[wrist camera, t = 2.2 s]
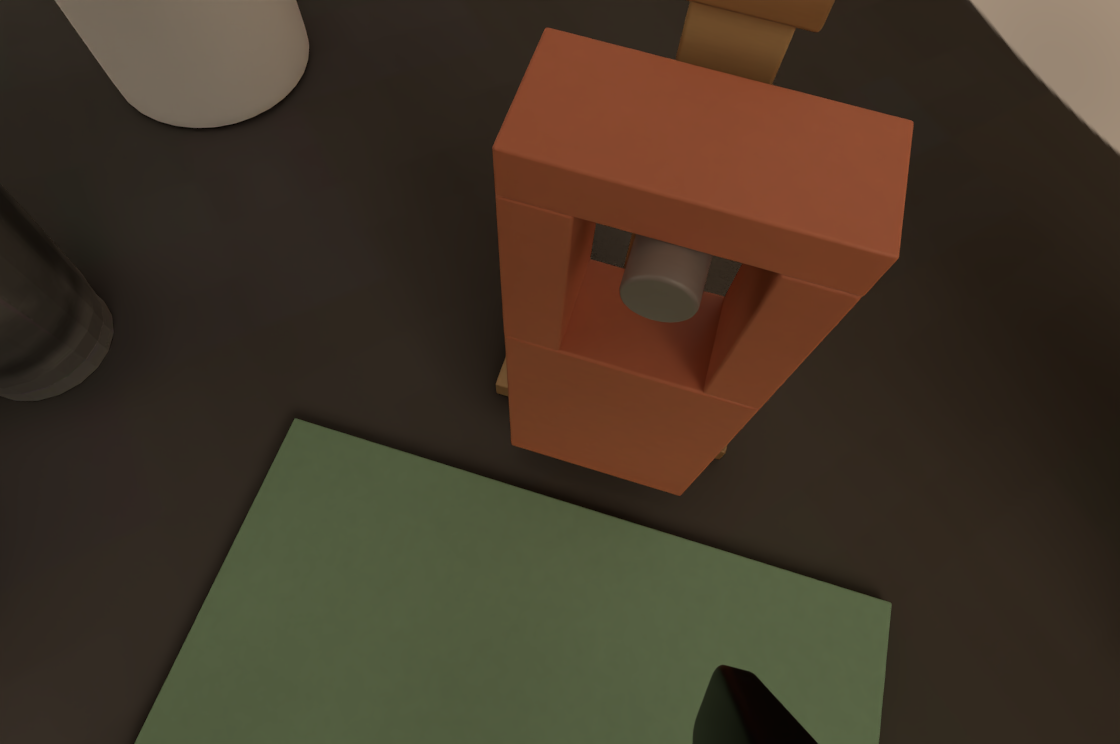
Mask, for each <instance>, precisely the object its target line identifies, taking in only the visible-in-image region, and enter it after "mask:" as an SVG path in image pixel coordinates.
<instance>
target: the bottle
mask: <svg viewBox="0 0 1120 744" xmlns="http://www.w3.org/2000/svg"><path fill="white" fill-rule="evenodd" d="M55 1H56V3H57V4H58V6H59V7H60V9H61V10H62V11H63V13H64V14H65V16H66V17H67V18H68V20H69V21H70V23H71V24H72V26H73V27H74V28H75V30H76V31H77V33H78V34H79V35H80V37H81V38H82V40H83V41H84V43H85V44H86V45H87V47H88V48H89V50H90V51H91V52H92V54H93V55H94V57H95V58H96V60H97V61H98V62H99V64H100V65H101V67H102V68H103V69H104V71H105V72H106V74H107V75H108V76H109V78H110V79H111V81H112V82H113V83H114V85H115V86H116V87H117V89H118V90H119V91H120V93H121V94H122V95H123V96H124V98H125V99H126V100H127V102H128V103H130V104H131V105H132V106H133V107H135V108H136V109H137V110H138V111H140V112H141V113H142V114H144V115H146V116H148V117H150V118H152V119H154V120H157V121H159V122H163V123H166V124H170V125H174V126H180V127H190V128H211V127H220V126H225V125H230V124H235V123H238V122H241V121H244V120H247V119H250V118H253V117H255V116H257V115H259V114H261V113H263V112H264V111H266V110H268V109H270V108H272V107H273V106H274V105H276V104H277V103H278V102H280V101H281V100H283V99H284V98H285V97H286V96H287V95H288V94H289V93H290V92H291V91H292V89H293V88H294V87H295V86H296V85H297V83H298V82H299V80H300V78H301V77H302V75H303V73H304V71H305V68H306V65H307V62H308V57H309V41H308V37H307V33H306V29H305V25H304V22H303V19H302V16H301V13H300V10H299V7H298V4H297V1H296V0H55Z"/></svg>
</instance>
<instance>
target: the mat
mask: <svg viewBox="0 0 1120 744" xmlns="http://www.w3.org/2000/svg"><path fill="white" fill-rule="evenodd" d="M890 615H891V603H890V602H888V601H884V600H881V599H878V598H875V597H871V596H868V595H865V594H862V593H858V592H855V591H852V590H849V589H846V588H842V587H839V586H836V585H833V584H829V583H826V582H823V581H820V580H817V579H813V578H810V577H807V576H804V575H800V574H797V573H794V572H791V571H787V570H784V569H781V568H778V567H775V566H771V565H768V564H765V563H762V562H758V561H755V560H752V559H749V558H745V557H742V556H739V555H736V554H733V553H729V552H726V551H723V550H720V549H716V548H713V547H710V546H707V545H703V544H700V543H697V542H694V541H691V540H687V539H684V538H681V537H678V536H674V535H671V534H668V533H665V532H661V531H658V530H655V529H652V528H649V527H645V526H642V525H639V524H636V523H632V522H629V521H626V520H623V519H620V518H616V517H613V516H610V515H607V514H603V513H600V512H597V511H594V510H590V509H587V508H584V507H581V506H578V505H574V504H571V503H568V502H565V501H561V500H558V499H555V498H552V497H548V496H545V495H542V494H539V493H536V492H532V491H529V490H526V489H523V488H519V487H516V486H513V485H510V484H506V483H503V482H500V481H497V480H494V479H490V478H487V477H484V476H481V475H477V474H474V473H471V472H468V471H464V470H461V469H458V468H455V467H452V466H448V465H445V464H442V463H439V462H435V461H432V460H429V459H426V458H423V457H419V456H416V455H413V454H410V453H406V452H403V451H400V450H397V449H393V448H390V447H387V446H384V445H381V444H377V443H374V442H371V441H368V440H364V439H361V438H358V437H355V436H351V435H348V434H345V433H342V432H339V431H335V430H332V429H329V428H326V427H322V426H319V425H316V424H313V423H309V422H306V421H303V420H300V419H297V418H295V419H294V421H293V423H292V425H291V427H290V429H289V431H288V433H287V435H286V437H285V439H284V441H283V443H282V445H281V447H280V449H279V451H278V453H277V455H276V457H275V459H274V461H273V463H272V465H271V467H270V469H269V471H268V473H267V475H266V477H265V479H264V482H263V484H262V486H261V488H260V490H259V492H258V494H257V496H256V498H255V500H254V502H253V504H252V506H251V508H250V510H249V512H248V514H247V516H246V518H245V520H244V522H243V524H242V526H241V528H240V530H239V532H238V534H237V536H236V538H235V540H234V542H233V544H232V546H231V548H230V550H229V552H228V554H227V557H226V559H225V561H224V563H223V565H222V567H221V569H220V571H219V573H218V575H217V577H216V579H215V581H214V583H213V585H212V587H211V589H210V591H209V593H208V595H207V597H206V599H205V601H204V603H203V605H202V607H201V609H200V611H199V613H198V615H197V617H196V619H195V621H194V623H193V625H192V627H191V630H190V632H189V634H188V636H187V638H186V640H185V642H184V644H183V646H182V648H181V650H180V652H179V654H178V656H177V658H176V660H175V662H174V664H173V666H172V668H171V670H170V672H169V674H168V676H167V678H166V680H165V682H164V684H163V686H162V688H161V690H160V692H159V694H158V696H157V698H156V700H155V703H154V705H153V707H152V709H151V711H150V713H149V715H148V717H147V719H146V721H145V723H144V725H143V727H142V729H141V731H140V733H139V735H138V737H137V739H136V741H135V743H134V744H693V729H694V724H695V720H696V717H697V714H698V711H699V708H700V706H701V703H702V700H703V698H704V695H705V692H706V690H707V687H708V684H709V682H710V679H711V676H712V674H713V672H714V671H715V669H716V668H717V667H718V666H720V665H727V666H731V667H735V668H739V669H743V670H747V671H750V672H752V673H754V674H755V675H756V676H757V677H758V678H759V679H760V680H761V682H762V683H763V684H764V685H765V686H766V687H767V688H768V689H769V690H770V691H771V692H772V694H773V695H774V696H775V697H776V698H777V699H778V700H779V701H780V702H781V703H782V704H783V706H784V707H785V708H786V709H787V710H788V711H789V712H790V713H791V714H792V715H793V717H794V718H795V719H796V720H797V721H798V722H799V723H800V724H801V725H802V726H803V727H804V729H805V730H806V731H807V732H808V733H809V734H810V735H811V736H812V737H813V738H814V739H815V741H816V742H817V743H818V744H879V734H880V724H881V713H882V702H883V691H884V680H885V669H886V658H887V647H888V637H889V626H890Z"/></svg>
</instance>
